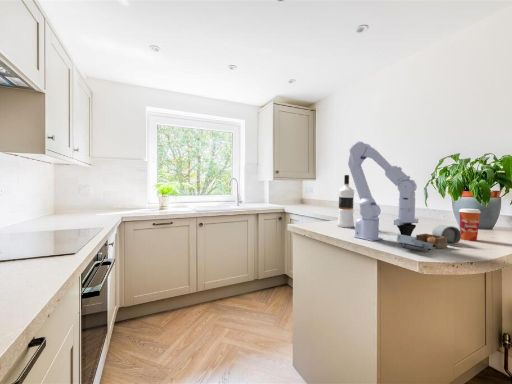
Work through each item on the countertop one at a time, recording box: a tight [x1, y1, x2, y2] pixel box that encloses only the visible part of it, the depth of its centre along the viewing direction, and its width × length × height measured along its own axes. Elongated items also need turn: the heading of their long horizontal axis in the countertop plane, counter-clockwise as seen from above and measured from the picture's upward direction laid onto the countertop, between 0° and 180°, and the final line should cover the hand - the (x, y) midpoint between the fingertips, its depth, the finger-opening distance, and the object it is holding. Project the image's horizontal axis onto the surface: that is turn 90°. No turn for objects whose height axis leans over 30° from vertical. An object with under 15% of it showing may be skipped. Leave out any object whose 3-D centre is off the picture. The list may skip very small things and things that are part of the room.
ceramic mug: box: [431, 224, 462, 246], centre depth 105 cm, size 11×8×8 cm
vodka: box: [336, 174, 355, 229], centre depth 142 cm, size 9×9×30 cm
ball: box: [427, 237, 435, 247], centre depth 99 cm, size 4×4×4 cm
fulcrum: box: [402, 243, 429, 253], centre depth 93 cm, size 8×2×3 cm, turn 30°
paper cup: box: [458, 208, 482, 242], centre depth 111 cm, size 8×8×14 cm
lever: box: [396, 233, 434, 250], centre depth 95 cm, size 12×14×3 cm
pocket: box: [415, 233, 448, 250], centre depth 99 cm, size 8×7×4 cm
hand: (405, 241), depth 101 cm, fingers closed
